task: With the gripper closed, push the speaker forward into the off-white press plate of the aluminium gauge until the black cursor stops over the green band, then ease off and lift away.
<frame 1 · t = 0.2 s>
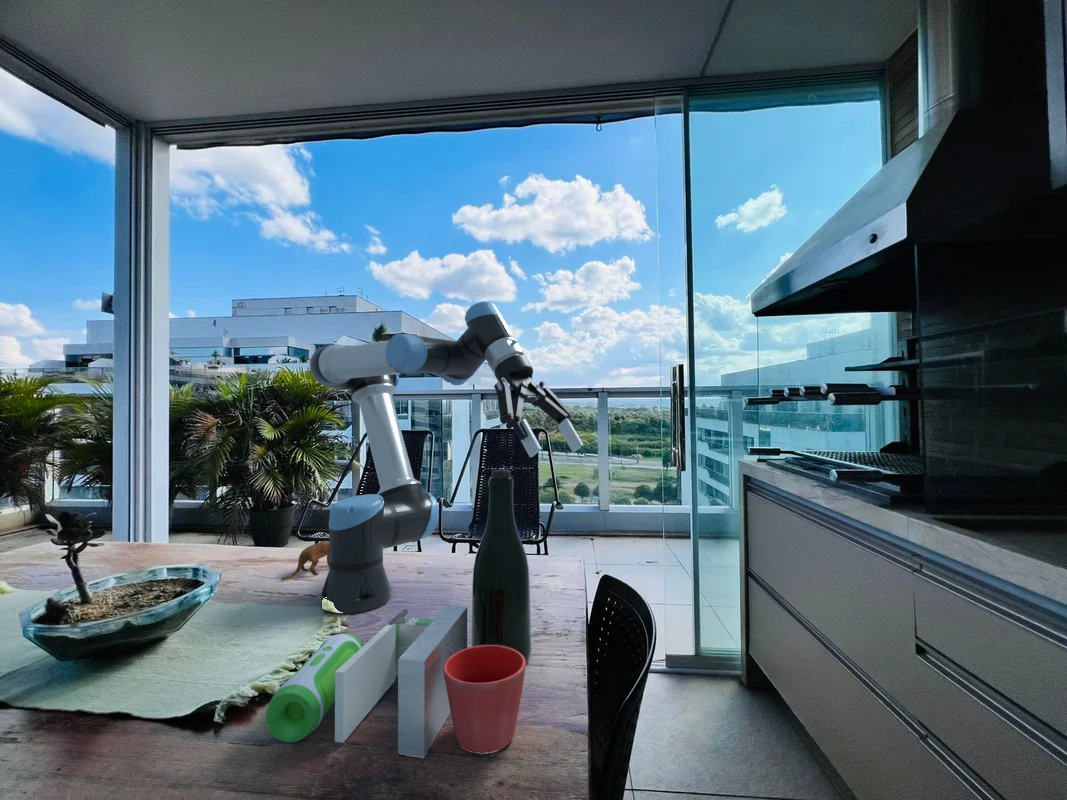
hand: (558, 450, 94), 36 cm above the table, tool tilted 35°, fingers open, 13 cm apart
cat figurine: (313, 573, 133), on the table
speaker: (320, 708, 73), on the table
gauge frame: (396, 713, 71), on the table
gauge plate: (376, 667, 74), point 5 cm above the table, slide at 0.0 cm
flower pot: (485, 737, 66), on the table
beer bottle: (501, 659, 86), on the table
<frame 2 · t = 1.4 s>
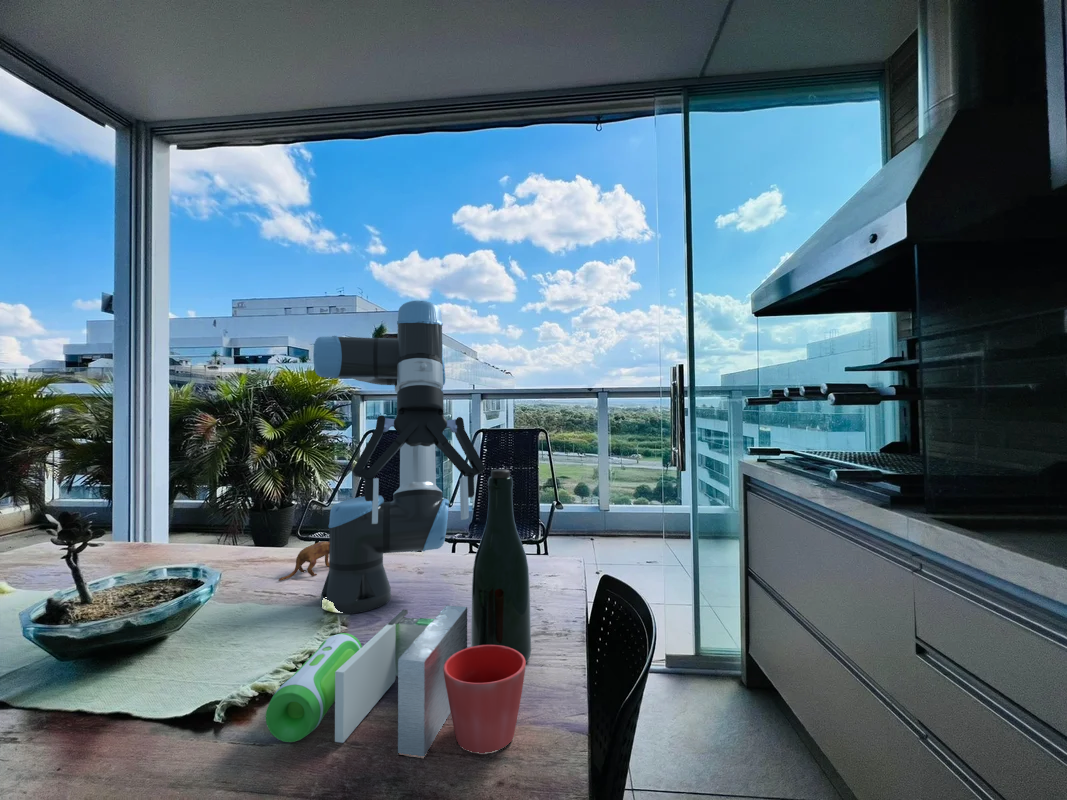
hand: (421, 521, 76), 26 cm above the table, tool tilted 15°, fingers open, 13 cm apart
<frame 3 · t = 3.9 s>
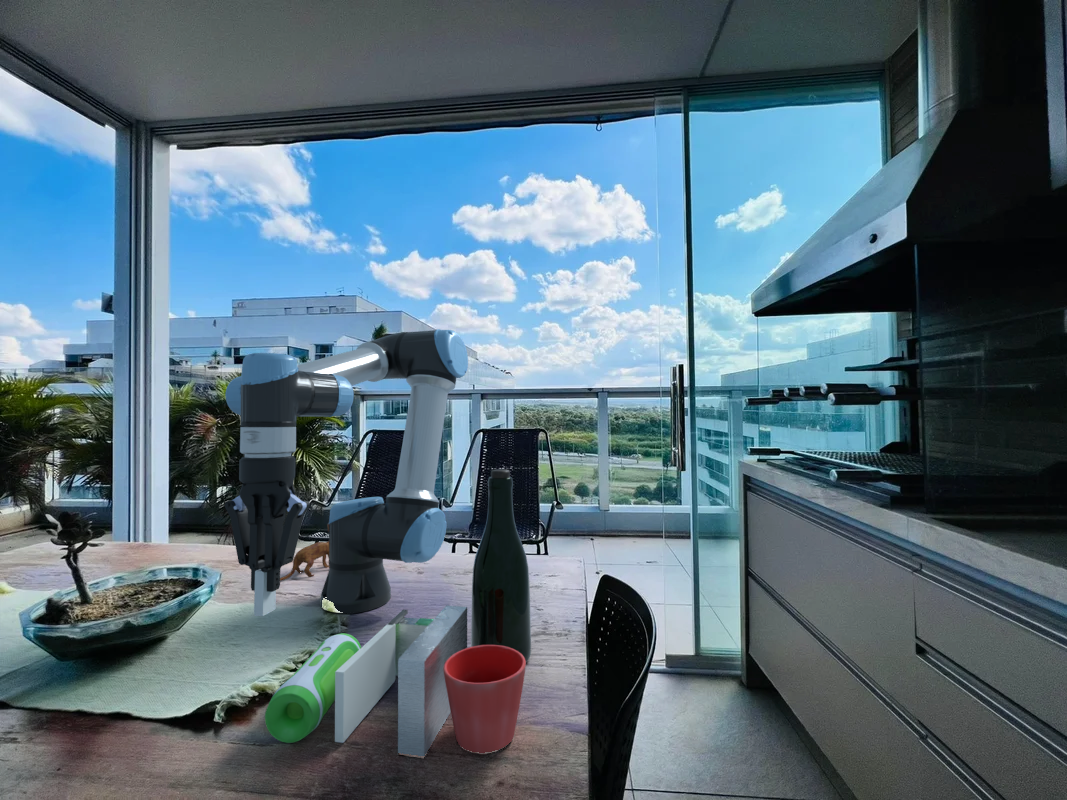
hand: (264, 612, 74), 13 cm above the table, tool pointing down, fingers closed
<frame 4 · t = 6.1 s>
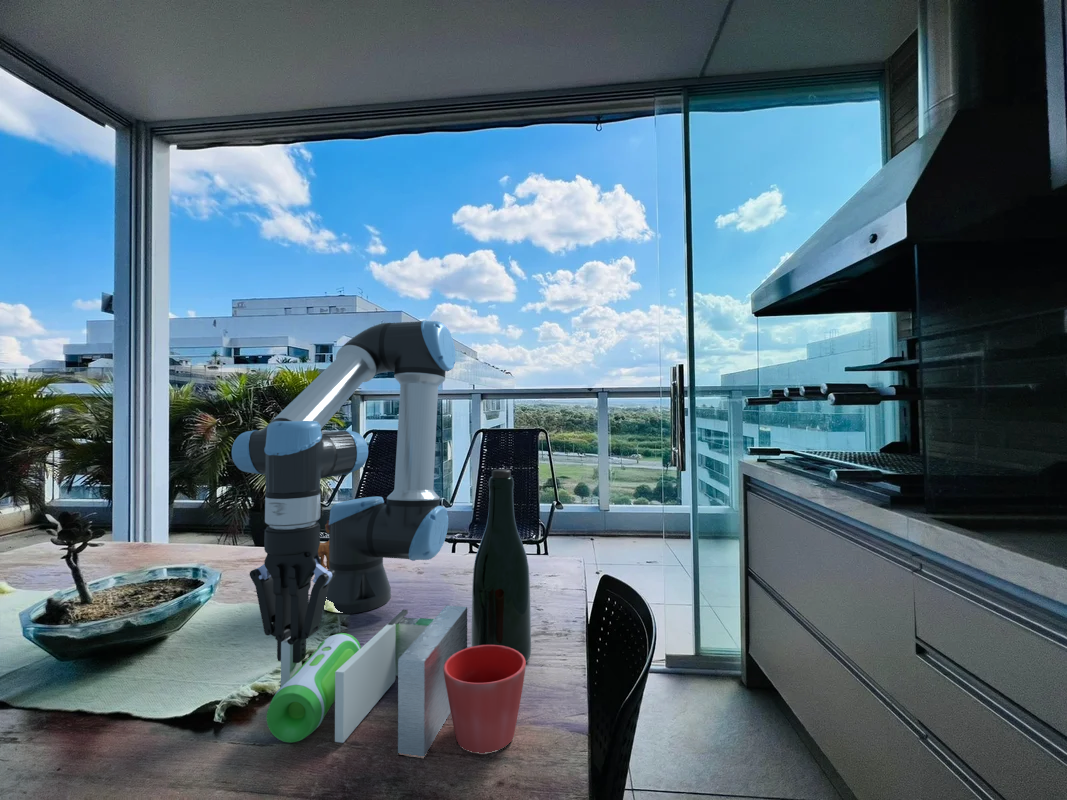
hand: (291, 682, 73), 3 cm above the table, tool pointing down, fingers closed
speaker: (319, 708, 73), on the table, touching gripper
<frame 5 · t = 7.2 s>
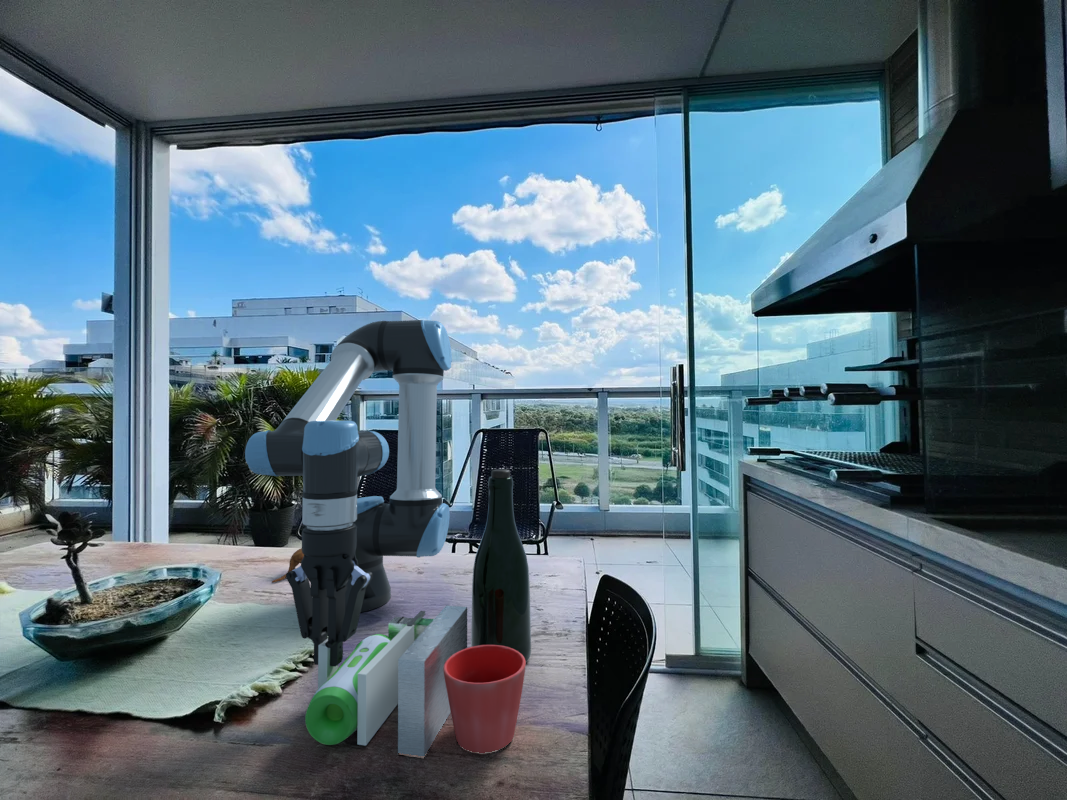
hand: (327, 686, 72), 3 cm above the table, tool pointing down, fingers closed
speaker: (356, 710, 72), on the table, touching gripper
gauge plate: (396, 668, 73), point 5 cm above the table, slide at 3.2 cm
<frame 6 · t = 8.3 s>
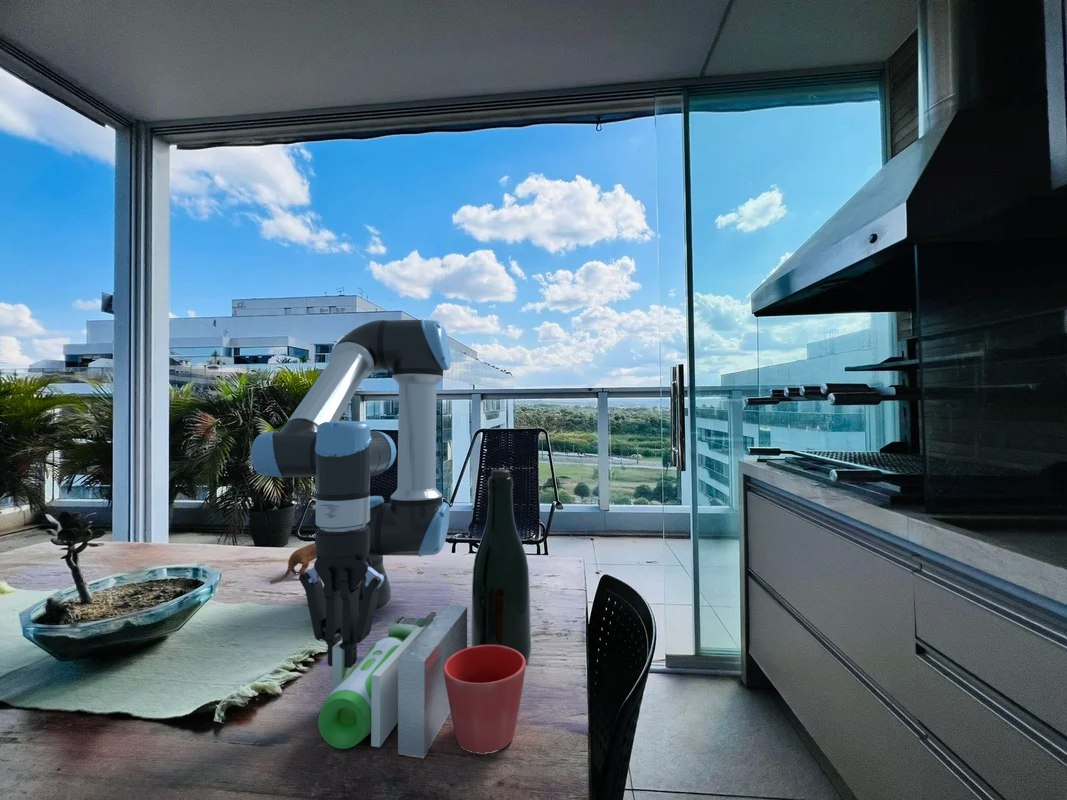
hand: (342, 687, 72), 3 cm above the table, tool pointing down, fingers closed
speaker: (370, 713, 71), on the table
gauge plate: (408, 670, 73), point 5 cm above the table, slide at 5.1 cm
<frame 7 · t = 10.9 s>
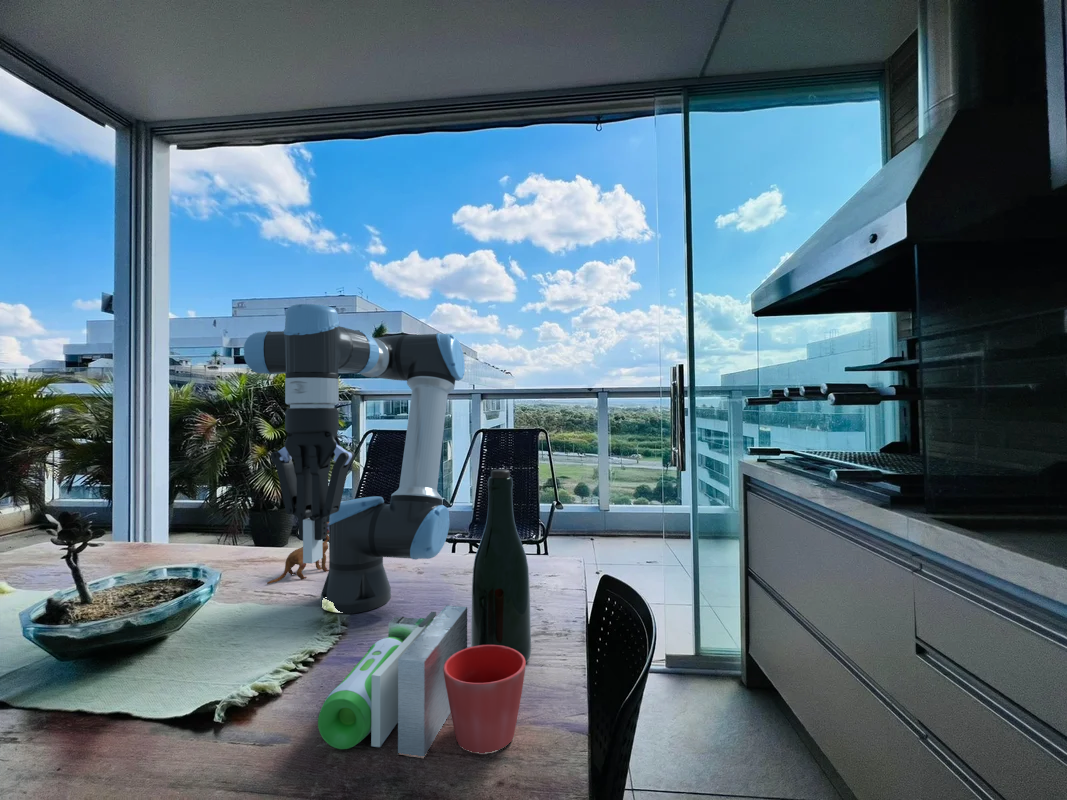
hand: (313, 560, 76), 21 cm above the table, tool pointing down, fingers closed
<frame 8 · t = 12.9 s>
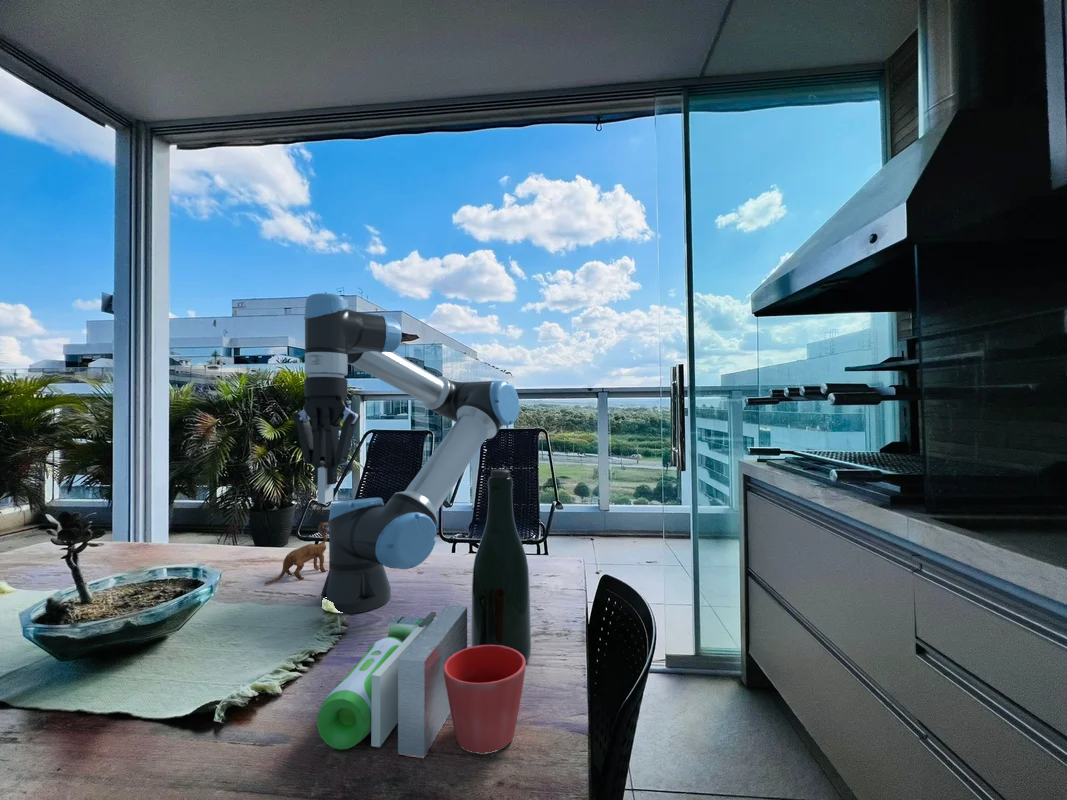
hand: (325, 501, 93), 26 cm above the table, tool pointing down, fingers closed
at the end: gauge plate slide at 5.1 cm; speaker tilted 0°; speaker moved 7.8 cm from its start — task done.
